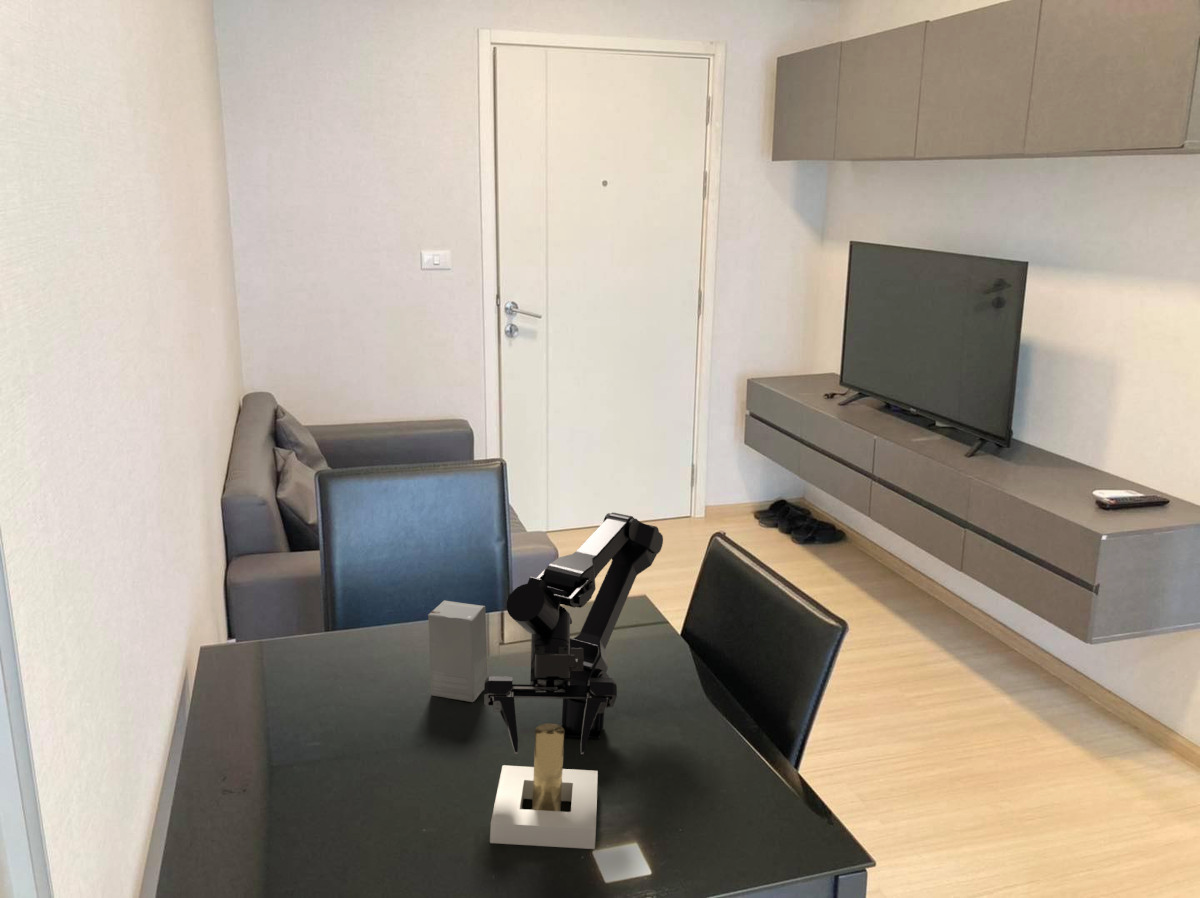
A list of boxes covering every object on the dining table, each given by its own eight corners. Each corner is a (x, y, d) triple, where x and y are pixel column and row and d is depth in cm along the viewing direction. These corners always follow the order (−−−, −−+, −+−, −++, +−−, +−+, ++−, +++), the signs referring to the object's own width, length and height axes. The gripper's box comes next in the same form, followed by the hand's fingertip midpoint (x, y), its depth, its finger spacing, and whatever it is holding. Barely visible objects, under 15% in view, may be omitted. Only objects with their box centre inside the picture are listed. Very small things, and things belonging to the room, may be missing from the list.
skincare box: (487, 687, 172) (490, 604, 168) (471, 706, 165) (473, 619, 161) (443, 679, 174) (445, 596, 170) (426, 697, 167) (427, 611, 164)
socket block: (490, 842, 130) (490, 823, 129) (501, 783, 143) (502, 765, 143) (594, 849, 130) (595, 829, 129) (596, 789, 143) (597, 770, 143)
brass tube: (530, 822, 135) (534, 737, 132) (533, 805, 139) (536, 722, 136) (559, 823, 135) (563, 739, 132) (561, 806, 139) (565, 724, 136)
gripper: (486, 624, 135) (481, 737, 127) (619, 626, 137) (622, 738, 129) (486, 651, 145) (482, 758, 137) (611, 653, 146) (613, 759, 138)
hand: (549, 753), depth 135 cm, fingers open, 9 cm apart
